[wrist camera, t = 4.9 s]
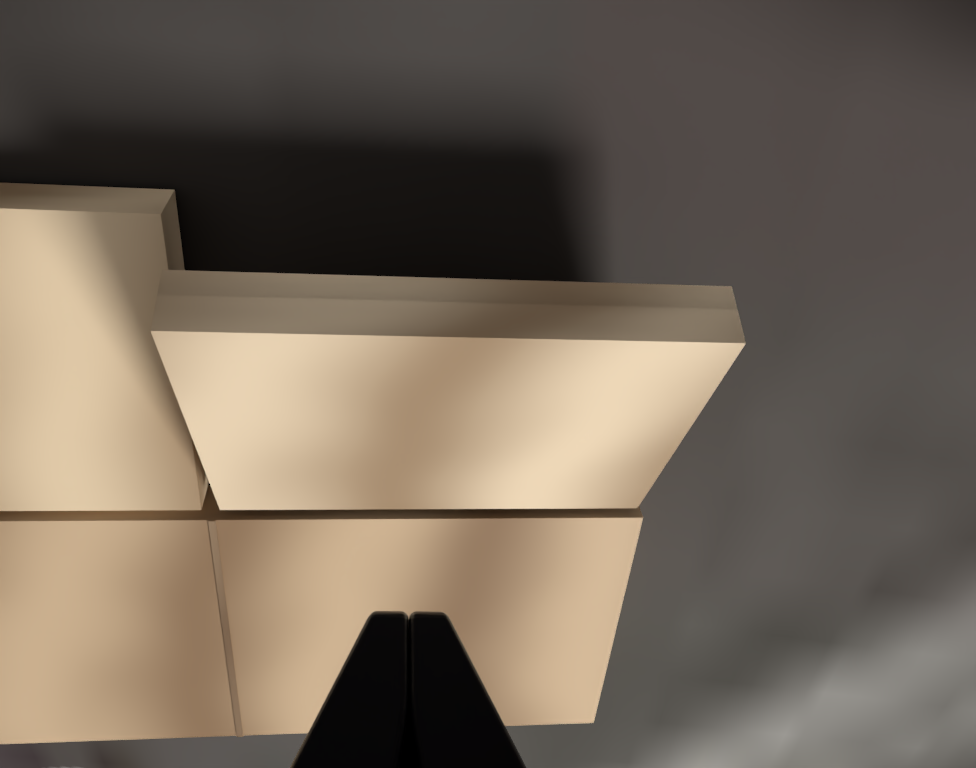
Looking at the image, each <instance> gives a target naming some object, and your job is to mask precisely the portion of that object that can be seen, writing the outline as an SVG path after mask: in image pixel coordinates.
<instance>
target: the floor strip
mask: <svg viewBox="0 0 976 768" xmlns="http://www.w3.org/2000/svg"><path fill="white" fill-rule="evenodd" d="M642 520H643V516H642V513H641V511H640V508H639V506H638V508H596V509H363V510H220V509H219V506H218V504H217V501H216V499H215V496H214V494H213V491H212V488H211V486H210V485H208V488H207V491H206V495H205V499H204V502H203V506H202V510H130V511H0V744H19V743H46V742H74V741H102V740H130V739H157V738H185V737H213V736H237V737H243V735H268V734H296V733H308V732H309V730H310V728H311V726H312V724H313V722H314V720H315V719H316V717H317V715H318V713H319V711H320V709H321V707H322V705H323V703H324V701H325V699H326V697H327V695H328V693H329V691H330V690H331V688H332V686H333V684H334V682H335V680H336V678H337V676H338V674H339V672H340V670H341V668H342V666H343V664H344V662H345V661H346V659H347V657H348V655H349V653H350V651H351V649H352V647H353V645H354V643H355V641H356V639H357V637H358V635H359V633H360V632H361V630H362V628H363V626H364V624H365V622H366V620H367V618H368V617H369V615H370V614H371V613H372V612H374V611H403V612H405V613H406V614H407V615H408V620H409V616H410V614H411V613H413V612H415V611H434V612H444V613H446V614H447V615H448V617H449V618H450V620H451V622H452V624H453V626H454V628H455V629H456V631H457V633H458V635H459V637H460V639H461V641H462V643H463V645H464V647H465V649H466V651H467V653H468V655H469V657H470V659H471V661H472V663H473V665H474V667H475V669H476V671H477V672H478V674H479V676H480V678H481V680H482V682H483V684H484V686H485V688H486V690H487V692H488V694H489V696H490V698H491V700H492V702H493V704H494V706H495V708H496V710H497V712H498V714H499V715H500V717H501V719H502V721H503V723H504V725H505V726H518V725H545V724H573V723H594V719H595V715H596V711H597V706H598V702H599V698H600V694H601V690H602V686H603V682H604V677H605V673H606V669H607V665H608V661H609V657H610V653H611V648H612V644H613V640H614V636H615V632H616V628H617V624H618V619H619V615H620V611H621V607H622V603H623V599H624V595H625V590H626V586H627V582H628V578H629V574H630V570H631V566H632V561H633V557H634V553H635V549H636V545H637V541H638V537H639V532H640V528H641V524H642Z"/></svg>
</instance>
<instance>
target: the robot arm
mask: <svg viewBox="0 0 976 768" xmlns="http://www.w3.org/2000/svg"><path fill="white" fill-rule="evenodd" d="M290 768H526V766H525V764H524V762H523V760H522V758H521V756H520V755H519V753H518V751H517V749H516V747H515V745H514V743H513V741H512V739H511V737H510V735H509V733H508V731H507V729H506V727H505V725H504V723H503V721H502V719H501V717H500V715H499V714H498V712H497V710H496V708H495V706H494V704H493V702H492V700H491V698H490V696H489V694H488V692H487V690H486V688H485V686H484V684H483V682H482V680H481V678H480V676H479V674H478V672H477V671H476V669H475V667H474V665H473V663H472V661H471V659H470V657H469V655H468V653H467V651H466V649H465V647H464V645H463V643H462V641H461V639H460V637H459V635H458V633H457V631H456V629H455V628H454V626H453V624H452V622H451V620H450V618H449V617H448V615H447V614H446V613H444V612H434V611H415V612H413V613H411V614H410V616H409V620H408V615H407V614H406V613H405V612H403V611H374V612H372V613H371V614H370V615H369V617H368V618H367V620H366V622H365V624H364V626H363V628H362V630H361V632H360V633H359V635H358V637H357V639H356V641H355V643H354V645H353V647H352V649H351V651H350V653H349V655H348V657H347V659H346V661H345V662H344V664H343V666H342V668H341V670H340V672H339V674H338V676H337V678H336V680H335V682H334V684H333V686H332V688H331V690H330V691H329V693H328V695H327V697H326V699H325V701H324V703H323V705H322V707H321V709H320V711H319V713H318V715H317V717H316V719H315V720H314V722H313V724H312V726H311V728H310V730H309V732H308V734H307V736H306V738H305V740H304V742H303V744H302V746H301V748H300V749H299V751H298V753H297V755H296V757H295V759H294V761H293V763H292V765H291V767H290Z"/></svg>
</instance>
